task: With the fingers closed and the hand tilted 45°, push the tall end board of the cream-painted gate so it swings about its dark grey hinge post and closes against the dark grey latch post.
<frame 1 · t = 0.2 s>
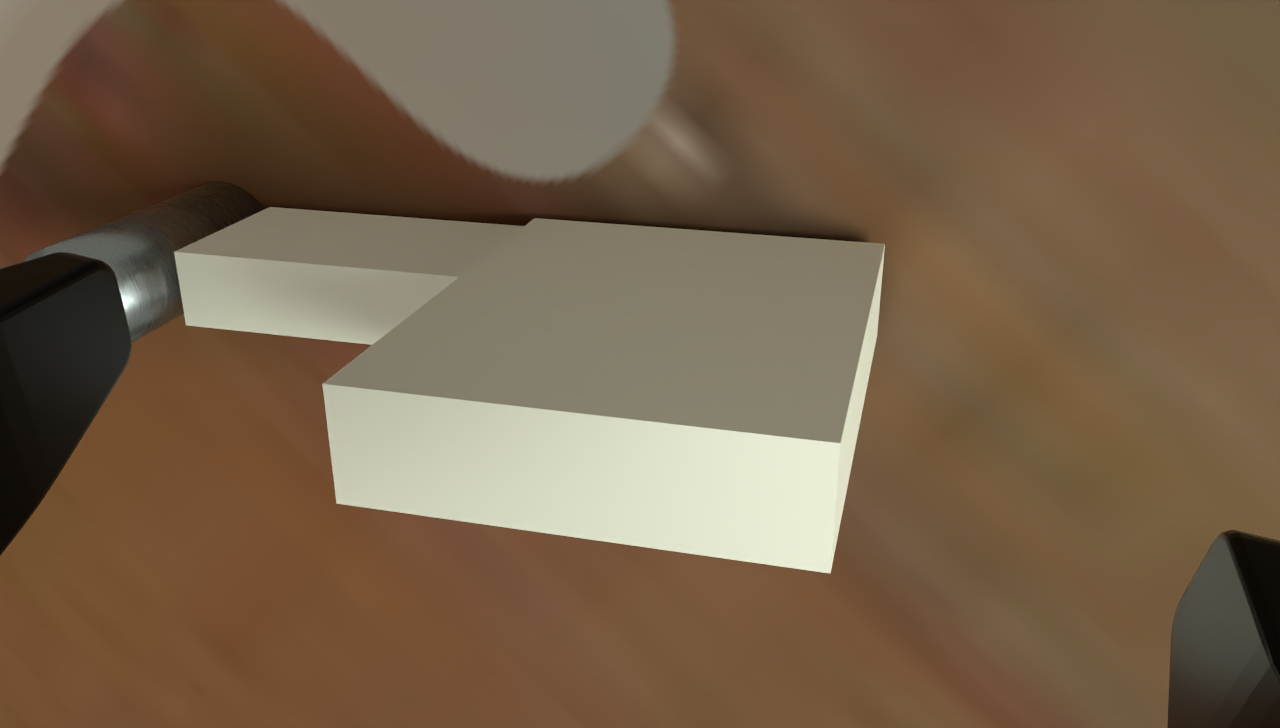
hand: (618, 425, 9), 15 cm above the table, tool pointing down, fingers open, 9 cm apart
gate: (478, 338, 21), point 5 cm above the table, hinge at 0.0°
hinge post: (227, 230, 27), on the table
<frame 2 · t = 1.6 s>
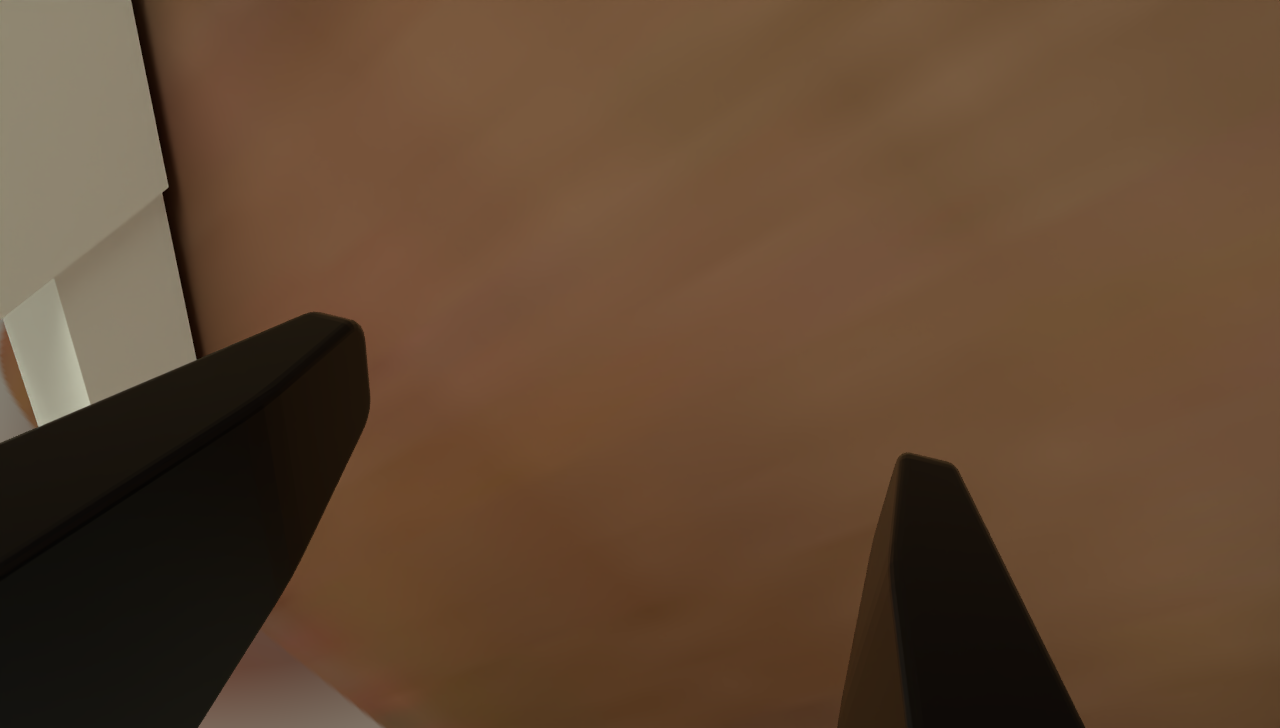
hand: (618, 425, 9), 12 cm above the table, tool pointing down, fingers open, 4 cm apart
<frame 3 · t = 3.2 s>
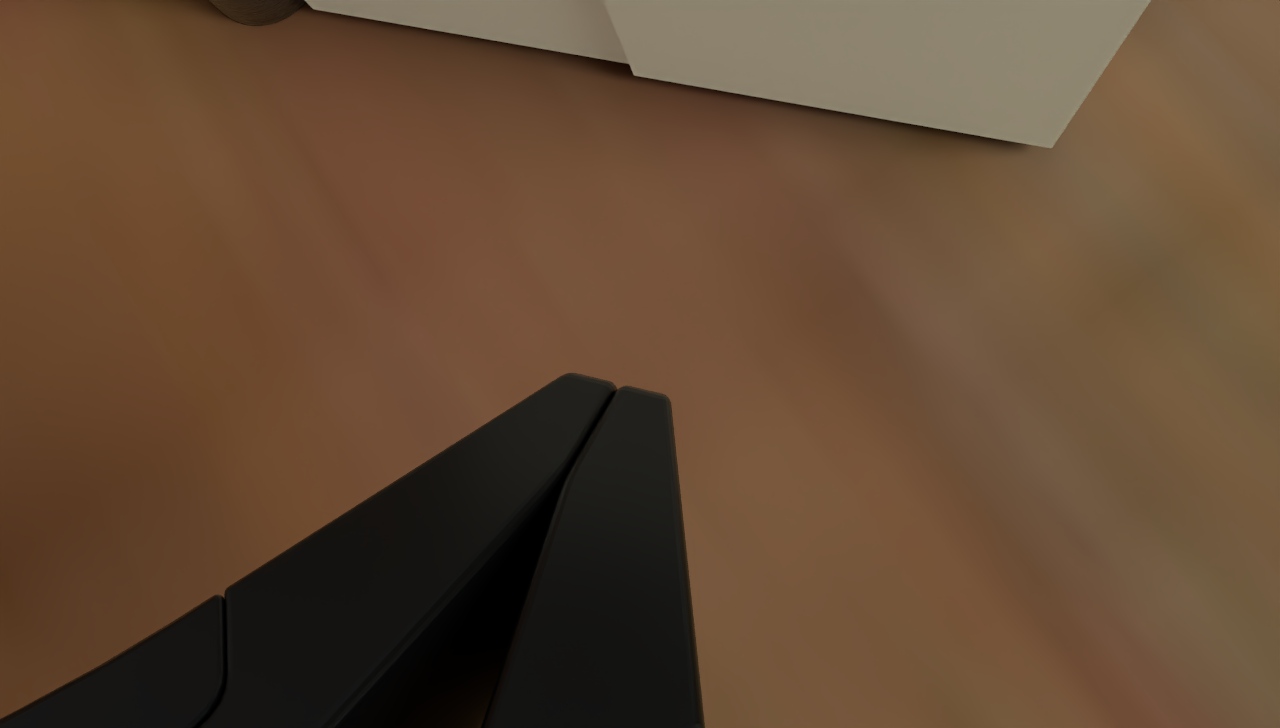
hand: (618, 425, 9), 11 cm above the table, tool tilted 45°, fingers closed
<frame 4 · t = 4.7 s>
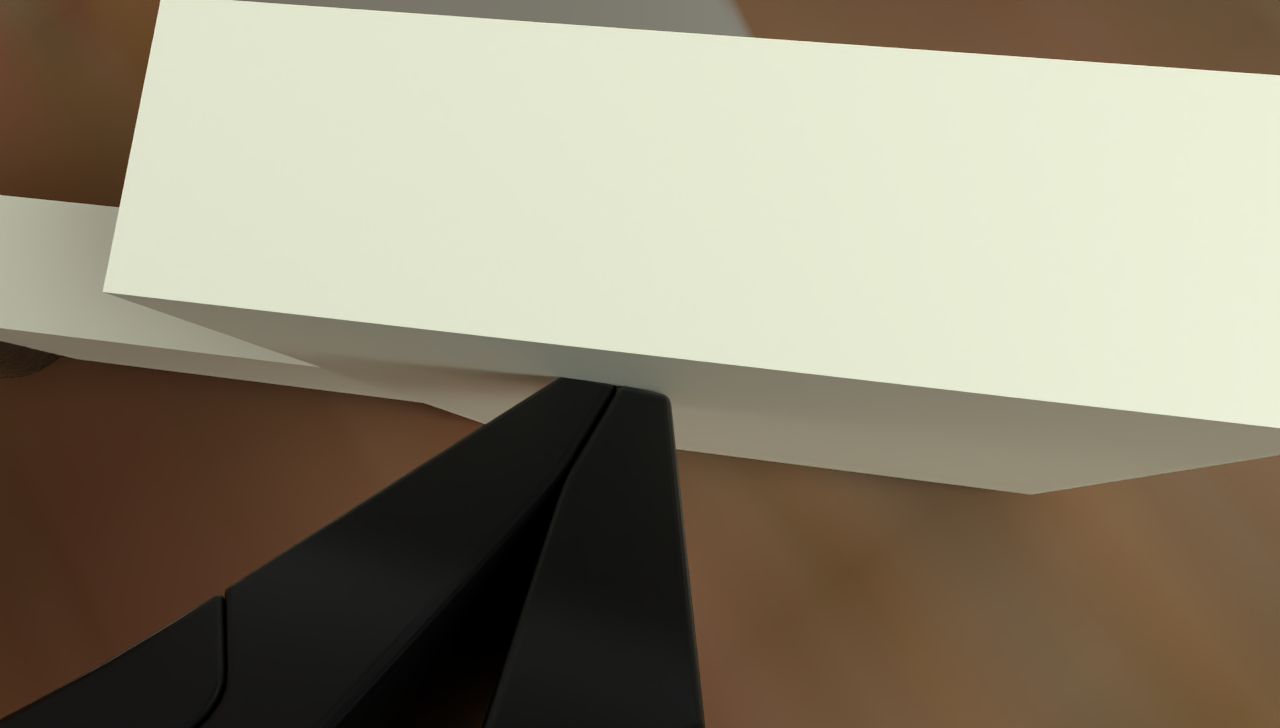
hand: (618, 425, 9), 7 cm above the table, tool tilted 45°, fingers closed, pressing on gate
gate: (430, 294, 12), point 5 cm above the table, hinge at 6.4°, touching gripper
hinge post: (16, 302, 18), on the table
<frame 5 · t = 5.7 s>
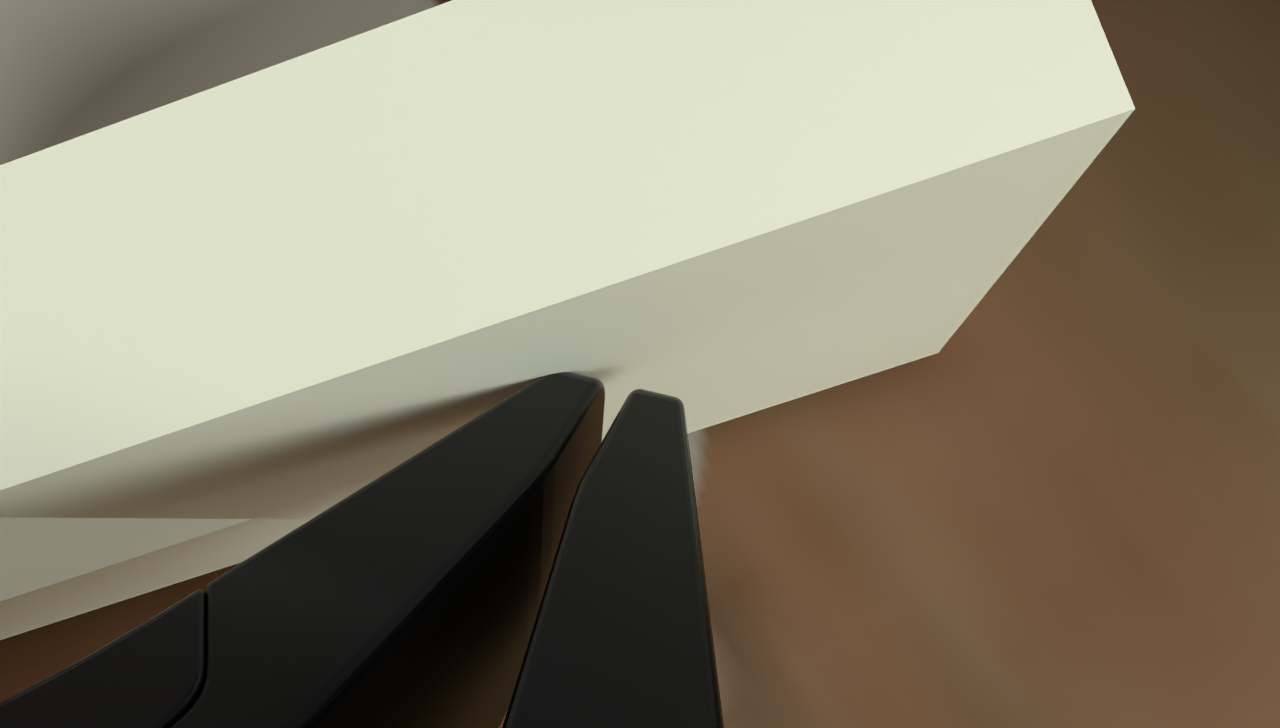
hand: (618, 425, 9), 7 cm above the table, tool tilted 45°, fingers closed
gate: (289, 409, 12), point 5 cm above the table, hinge at 31.7°, touching gripper
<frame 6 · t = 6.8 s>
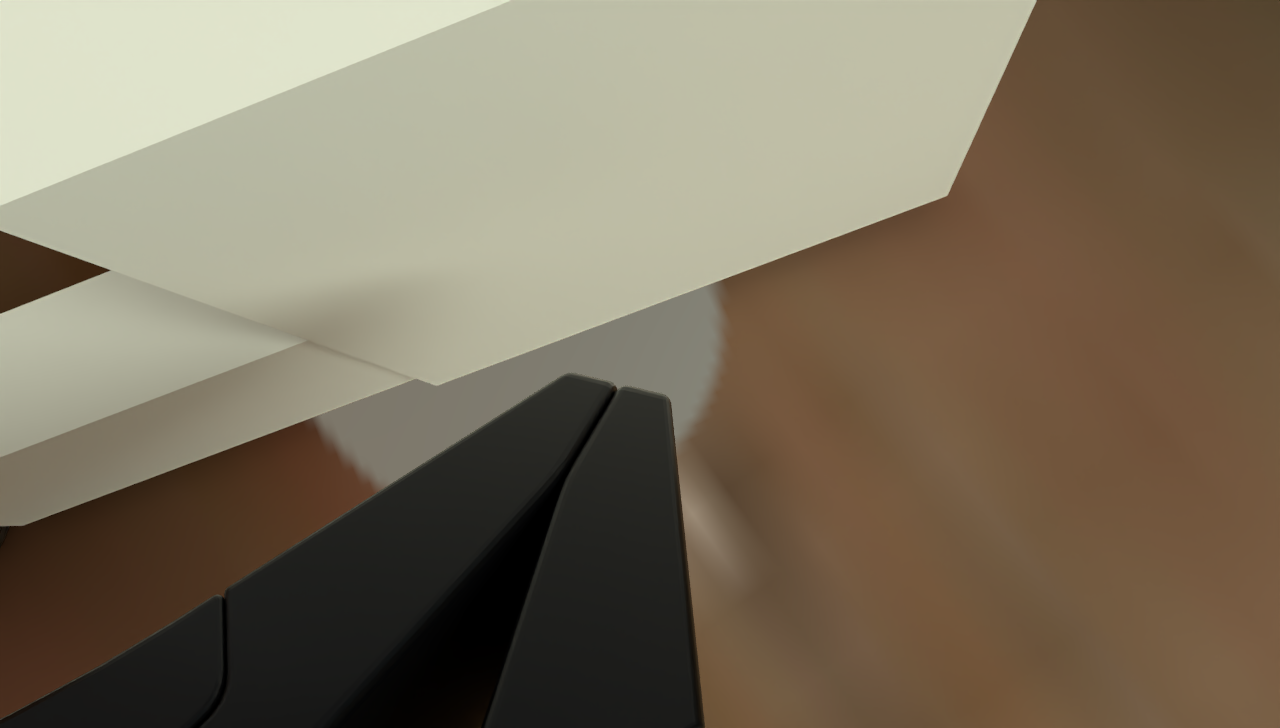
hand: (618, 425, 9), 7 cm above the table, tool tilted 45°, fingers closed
gate: (311, 227, 12), point 5 cm above the table, hinge at 33.5°
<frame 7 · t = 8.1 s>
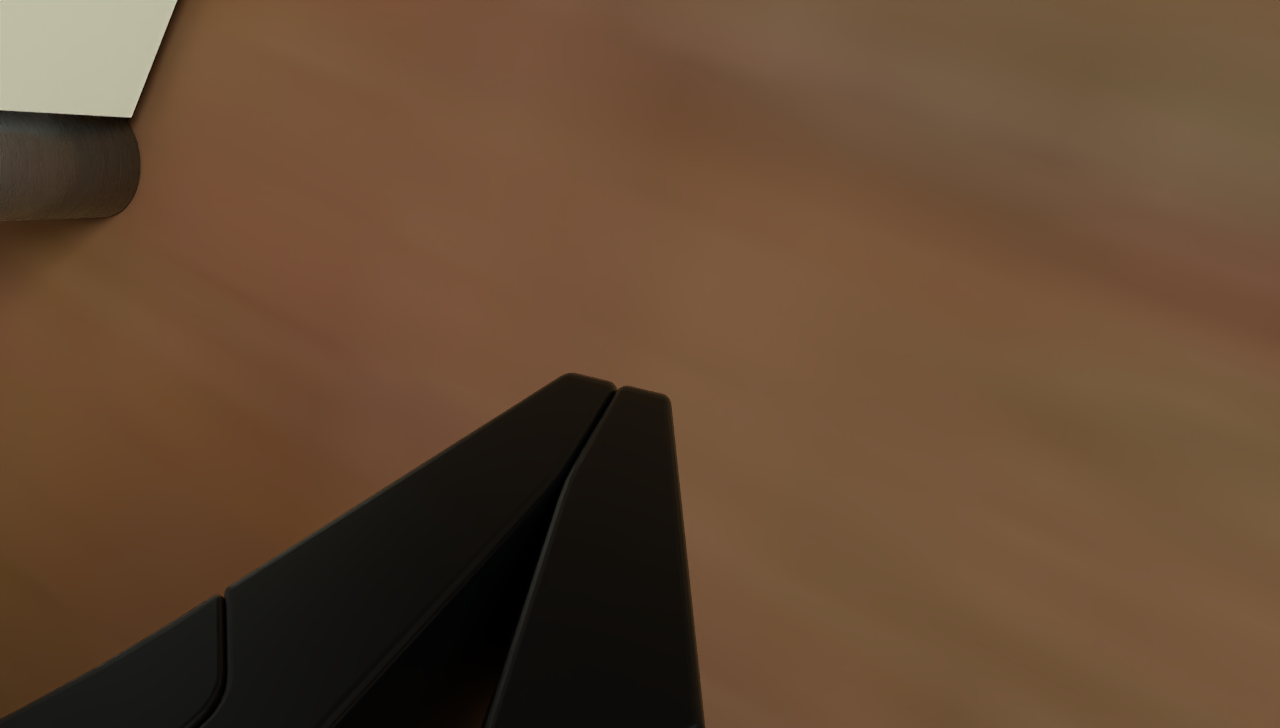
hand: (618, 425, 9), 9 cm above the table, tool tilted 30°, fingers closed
hinge post: (98, 159, 24), on the table
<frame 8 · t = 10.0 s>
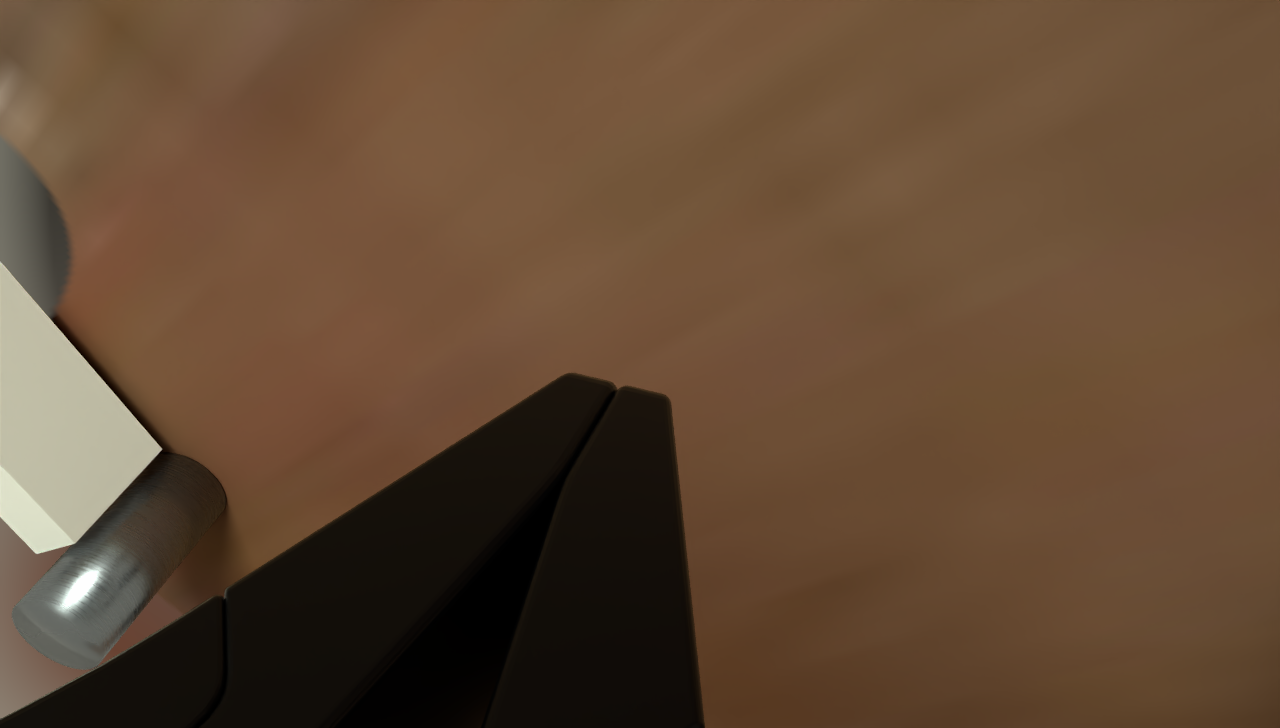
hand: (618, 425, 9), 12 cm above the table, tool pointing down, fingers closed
hinge post: (186, 486, 32), on the table
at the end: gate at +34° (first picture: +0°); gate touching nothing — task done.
